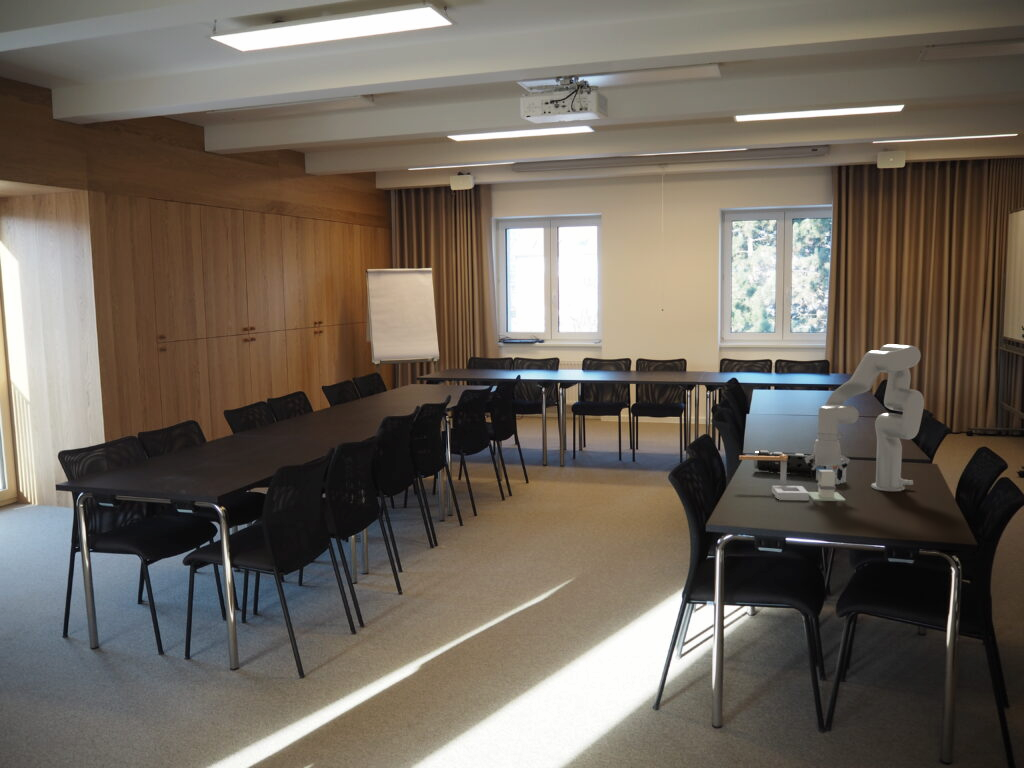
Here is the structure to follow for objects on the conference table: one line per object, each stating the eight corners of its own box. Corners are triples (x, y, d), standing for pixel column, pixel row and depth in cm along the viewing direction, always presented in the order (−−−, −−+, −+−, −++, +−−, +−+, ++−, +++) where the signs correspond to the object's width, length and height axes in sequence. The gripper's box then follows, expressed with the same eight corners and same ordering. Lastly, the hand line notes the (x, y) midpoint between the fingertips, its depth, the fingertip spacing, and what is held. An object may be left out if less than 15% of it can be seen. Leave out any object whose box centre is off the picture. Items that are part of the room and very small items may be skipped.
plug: (831, 494, 344) (832, 469, 343) (835, 497, 338) (836, 472, 337) (816, 493, 344) (817, 469, 343) (820, 497, 339) (821, 472, 338)
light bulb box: (815, 480, 371) (816, 456, 370) (823, 478, 375) (824, 454, 374) (838, 484, 363) (839, 459, 361) (846, 482, 367) (847, 457, 366)
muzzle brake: (818, 479, 373) (818, 456, 372) (752, 473, 386) (753, 451, 384) (820, 475, 382) (821, 452, 380) (756, 469, 394) (757, 447, 393)
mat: (837, 493, 346) (837, 492, 346) (845, 501, 335) (845, 499, 335) (807, 493, 348) (807, 491, 348) (813, 500, 336) (813, 499, 336)
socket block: (796, 487, 358) (797, 459, 356) (808, 500, 336) (809, 470, 335) (767, 487, 359) (768, 459, 358) (777, 499, 338) (778, 470, 336)
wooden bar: (787, 459, 357) (787, 454, 356) (788, 461, 354) (788, 456, 353) (739, 458, 360) (739, 454, 359) (739, 460, 357) (739, 455, 356)
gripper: (847, 435, 341) (846, 477, 343) (803, 435, 343) (802, 476, 345) (853, 439, 334) (851, 481, 336) (807, 438, 336) (806, 481, 338)
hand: (826, 479), depth 340 cm, fingers open, 9 cm apart
